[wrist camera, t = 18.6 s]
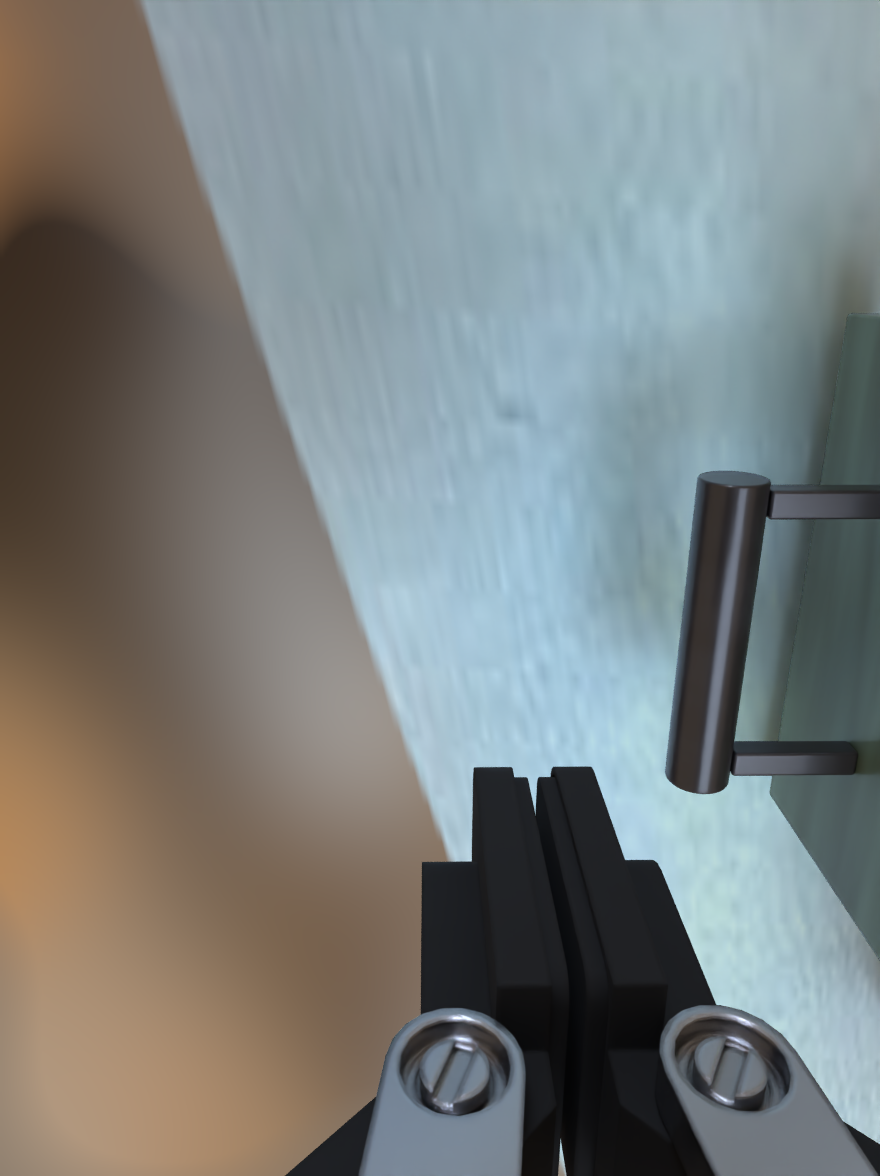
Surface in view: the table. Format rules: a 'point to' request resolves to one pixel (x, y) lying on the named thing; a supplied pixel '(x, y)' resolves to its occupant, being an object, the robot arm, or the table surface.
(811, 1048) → the table surface
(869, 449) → the drawer
